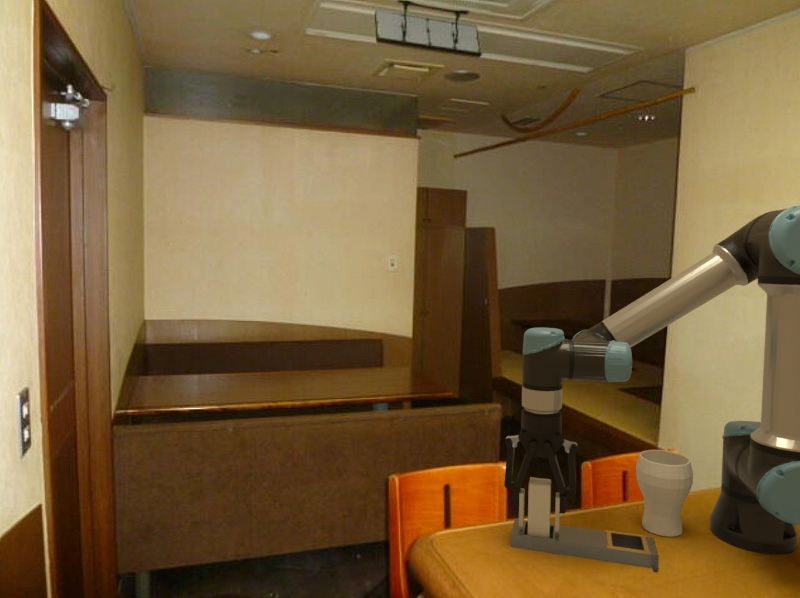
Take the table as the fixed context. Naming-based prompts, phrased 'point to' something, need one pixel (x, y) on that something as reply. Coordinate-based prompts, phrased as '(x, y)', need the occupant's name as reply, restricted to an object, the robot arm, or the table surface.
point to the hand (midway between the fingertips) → (539, 525)
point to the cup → (663, 489)
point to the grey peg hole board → (590, 544)
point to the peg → (539, 507)
